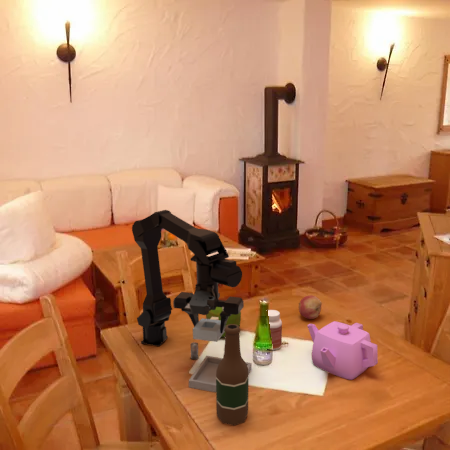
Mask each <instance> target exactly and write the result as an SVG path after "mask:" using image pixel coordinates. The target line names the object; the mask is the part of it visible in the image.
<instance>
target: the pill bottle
mask: <svg viewBox="0 0 450 450" xmlns="http://www.w3.org/2000/svg"><path fill="white" fill-rule="evenodd" d="M267 310H268V316H269V324H270V330H271V337H272V344H273V350H272V351H276V350H279V349H280V348H281V347H282V340H283V331H282V330H283V322H282V320H281V313H280V311H278V310H276V309H267Z"/></svg>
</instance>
